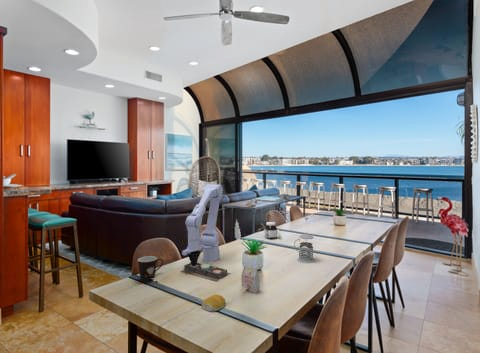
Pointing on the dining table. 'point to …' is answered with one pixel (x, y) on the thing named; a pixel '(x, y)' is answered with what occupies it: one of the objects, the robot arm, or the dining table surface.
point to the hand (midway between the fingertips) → (193, 265)
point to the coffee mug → (147, 268)
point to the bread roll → (213, 303)
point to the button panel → (205, 272)
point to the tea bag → (250, 279)
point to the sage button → (205, 266)
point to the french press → (305, 249)
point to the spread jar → (271, 231)
